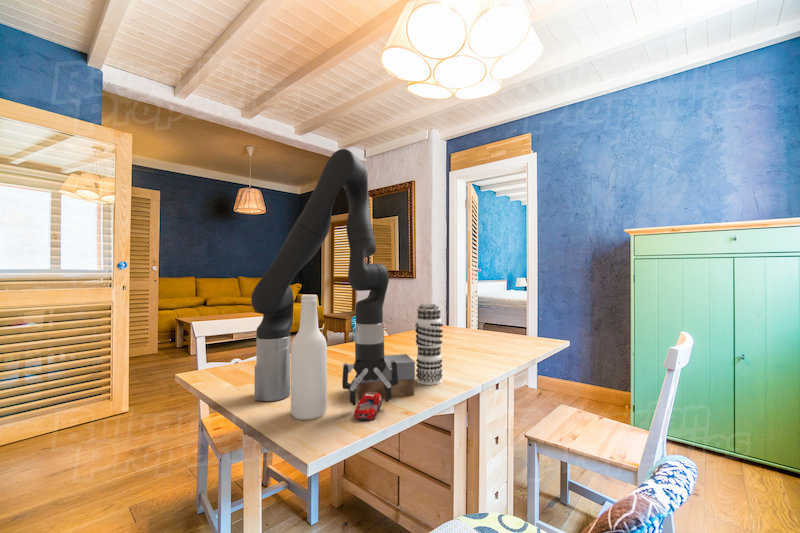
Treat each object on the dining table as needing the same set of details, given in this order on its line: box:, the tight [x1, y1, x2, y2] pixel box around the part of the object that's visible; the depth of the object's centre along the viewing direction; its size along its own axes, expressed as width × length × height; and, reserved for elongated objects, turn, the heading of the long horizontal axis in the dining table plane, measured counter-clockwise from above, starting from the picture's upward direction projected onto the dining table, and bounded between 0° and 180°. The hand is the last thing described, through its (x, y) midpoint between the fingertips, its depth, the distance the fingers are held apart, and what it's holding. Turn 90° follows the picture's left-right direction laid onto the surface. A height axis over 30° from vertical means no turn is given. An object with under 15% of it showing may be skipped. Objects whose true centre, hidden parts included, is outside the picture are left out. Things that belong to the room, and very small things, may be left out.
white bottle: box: [290, 294, 328, 421], centre depth 89 cm, size 9×9×30 cm
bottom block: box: [355, 379, 415, 401], centre depth 105 cm, size 16×10×5 cm, turn 101°
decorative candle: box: [414, 303, 444, 386], centre depth 116 cm, size 9×9×25 cm
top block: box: [355, 353, 416, 383], centre depth 106 cm, size 16×10×5 cm, turn 103°
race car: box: [354, 392, 383, 421], centre depth 91 cm, size 13×5×4 cm, turn 172°
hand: (370, 402), depth 91 cm, fingers open, 8 cm apart
